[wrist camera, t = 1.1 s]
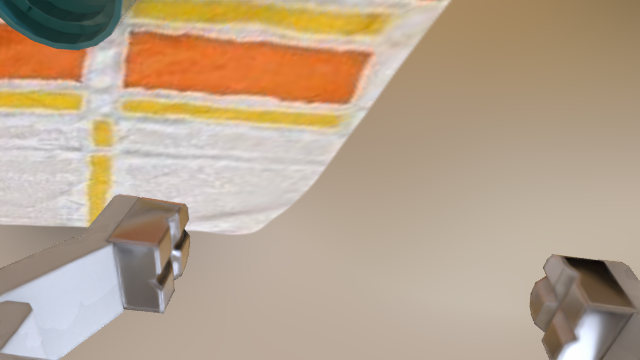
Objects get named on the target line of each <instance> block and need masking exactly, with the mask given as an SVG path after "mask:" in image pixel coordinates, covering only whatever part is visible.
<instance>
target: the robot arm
mask: <svg viewBox="0 0 640 360" xmlns="http://www.w3.org/2000/svg"><path fill="white" fill-rule="evenodd" d="M188 220H189V216H188V207H187V206H186V204H182V203H175V202H169V201H163V200H156V199H150V198H144V197H142V198H140V197H136V196H129V195H122V194H119V195H116V196H114V197H113V198H112V200H111V201H110V202H109V203H108V204H107V206H106V207H105V208H104V209H103V210H102V212H101V213H100V214H99V215H98V216H97V218H96V219H95V220H94V221H93V222H92V224H91V225H90V226H89V227H88V229H87V230H86V231H85V232H84V233H83V235H82V236H81V237H80V238H75V237H72V238H70V239H67V240H65V241H63V242H61V243H58V244H56V245H54V246H51V247H49V248H47V249H44V250H42V251H40V252H37V253H35V254H33V255H30V256H28V257H26V258H23V259H21V260H19V261H16V262H14V263H12V264H9V265H7V266H5V267H2V268H0V360H59V359H60V358H61V357H63V356H64V355H66V354H67V353H68V352H69V351H71V350H72V349H74V348H75V347H76V346H78V345H79V344H80V343H82V342H83V341H84V340H86V339H87V338H88V337H90V336H91V335H92V334H94V333H95V332H96V331H98V330H99V329H100V328H102V327H103V326H105V325H106V324H107V323H109V322H110V321H111V320H112V319H114V318H115V317H117V316H118V315H119V314H121V313H122V312H123V311H124V310H123V309H127V310H137V311H146V312H154V313H164V311H165V309H166V307H167V305H168V303H169V301H170V299H171V297H172V295H173V293H174V290H175V289H174V280H176V279H177V278H179V277H181V276H182V274H183V271H184V269H185V267H186V263H187V259H188V256H189V247H190V236H189V234H188V233H187V232H186V230H185V229H184V228H185V226H186V224H187V222H188ZM543 269H544V271H545V274H546V276H545V277H544V278H542V279H540V280H539V281H537V282H536V283H535V285H534V287H533V290H532V292H531V297H530V311H531V316H532V318H533V321H534V324H535V325H536V326H538V327H539V328H540V329H541V330H542V331H543V332H545V334H544V336H543V338H542V343H543V345H544V348H545V350H546V353H547V355H548V357H549V360H640V281H639V280H638V278H637V277H636V276H635V274H634V273H633V271H632V270H631V269H630V267H629V266H628V265H626V264H624V263H623V262H616V261H608V260H592V259H584V258H577V257H569V256H562V255H554V254H552V255H551V256H550V257H549V258H548V259H547V261H546V263H545V265H544V267H543Z"/></svg>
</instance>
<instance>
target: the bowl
mask: <svg viewBox="0 0 640 360" xmlns="http://www.w3.org/2000/svg"><path fill="white" fill-rule="evenodd" d="M135 1H136V0H0V18H1V19H2V20H3V21H5V22H6V23H7V24H8V25H9V26H10V27H11V28H13V29H14V30H16V31H18V32H19V33H21V34H23V35H24V36H26V37H28V38H29V39H31V40H33V41H35V42H38V43H41V44H44V45H47V46H50V47H53V48H56V49H68V50H81V49H85V48H89V47H93V46H96V45H98V44H99V43H101V42H102V41H104V40H105V39H106V38H108V37H109V36H111V35H112V33H113V32H114V31H115V30H116V29H117V27H118V26H119V25H120V24H121V23H122V21H123V20H124V19H125V18H126V17H127V15H128V13H129V12H130V10H131V8H132V7H133V5H134V3H135Z"/></svg>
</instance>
